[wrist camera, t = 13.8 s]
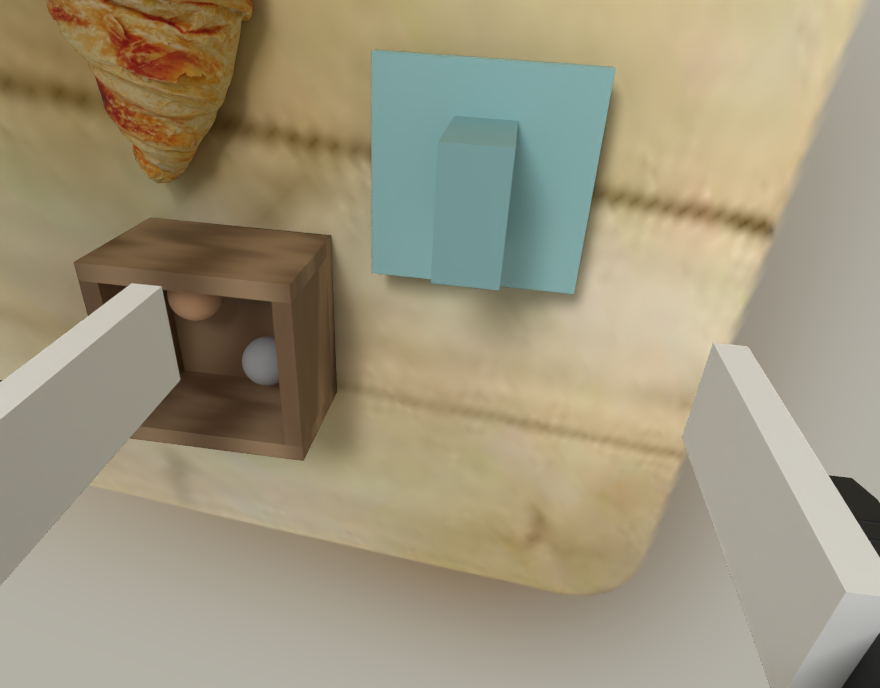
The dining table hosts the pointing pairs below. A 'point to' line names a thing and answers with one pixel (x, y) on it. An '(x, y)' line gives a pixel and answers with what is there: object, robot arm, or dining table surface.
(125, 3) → the croissant
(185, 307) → the ball
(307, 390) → the box
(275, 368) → the ball
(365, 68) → the dining table surface
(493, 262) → the lid
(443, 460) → the dining table surface
